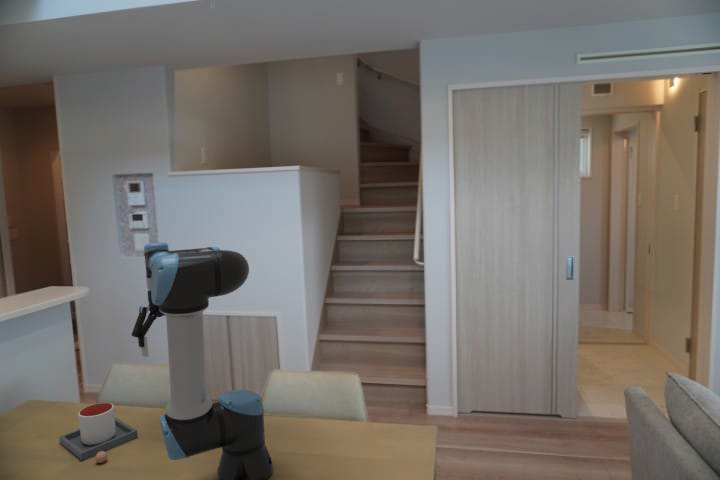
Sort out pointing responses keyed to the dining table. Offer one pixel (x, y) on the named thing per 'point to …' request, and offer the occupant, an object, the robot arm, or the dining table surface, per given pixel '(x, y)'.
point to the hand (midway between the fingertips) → (164, 350)
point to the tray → (87, 451)
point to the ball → (101, 457)
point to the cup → (97, 423)
